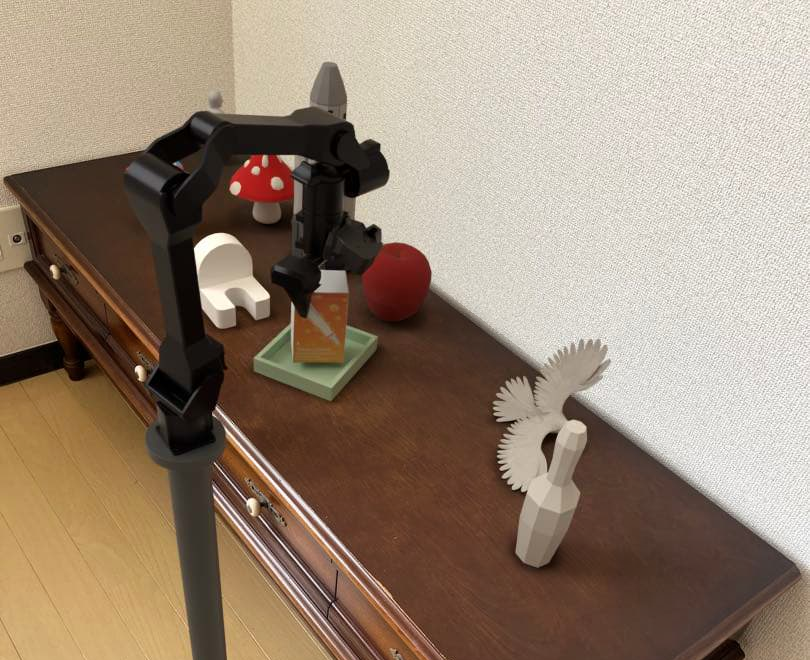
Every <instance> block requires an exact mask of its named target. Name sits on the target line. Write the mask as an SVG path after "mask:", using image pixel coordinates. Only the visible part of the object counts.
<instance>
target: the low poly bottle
mask: <svg viewBox="0 0 810 660" xmlns="http://www.w3.org/2000/svg"><path fill="white" fill-rule="evenodd" d="M567 421H568V422H567V423H566V424H565V425H564V427H563V428H562V429H561V430H560V432H559V433H557V436H556V438H555V443H554V449H553V454H552V459H551V462H550V465H549V468H548V471H547V473H546V474H542V475H541V476H539V477H537V478H534V479H532V481H531V483H530V486H529V489H528V490H527V491H526V493H525V494H526V495H525V498H524V501H523V504H522V507H521V511H520V514H519V522H518V527H517V536H516V537H517V538H516V546H515V554H516V556H517V557H518V558H519V559H520V560H521V561H522V563H523V564H526V565H528V566H530V567H531V566H532V567H535V568H537V569H538V568H540V567H543V566H545V565H548V564H549V563H550V562H551V560H552V558H553V556H554V555H555V553H556V551H557V550H558V548H559V546H560V544H561V543H562V541H563V539H564V538H565V536H566V534H567V532H568V530H569V528H570V525H571V523H572V520H573V517H574V514H575V512H576V509H577V505H578V503H579V499H580V496H581V492H580V490H579V488H578V487H577V485H576V484H575V482H574V480H573V479H572V478H573V475H574V473H575V469H576V466H577V464H578V462H579V460H580V458H581V456H582V455H583V452H584V450H585V448H586V444H587V442H588V432H587V431H588V429H587V426H586V425H585V424H584V423H583V422H582V421H580V420H577V419H571V420H567Z"/></svg>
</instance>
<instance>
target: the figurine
mask: <svg viewBox="0 0 810 660" xmlns="http://www.w3.org/2000/svg"><path fill="white" fill-rule="evenodd" d="M207 102H208V105H207V106H206V107H205V108H204V111H210V112H212V113H219V114H226V112H225V111H224V110H223V109H222V106H223V102H224V99H223V95H222V93H221V92H220V91H219V90H216V89H212V90H210V91H209V92H208V94H207Z"/></svg>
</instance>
